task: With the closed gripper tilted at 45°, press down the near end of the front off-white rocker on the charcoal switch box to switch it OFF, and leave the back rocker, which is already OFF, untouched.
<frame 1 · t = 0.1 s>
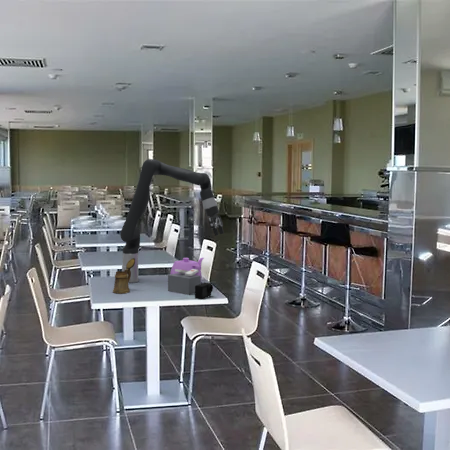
hand: (219, 234, 327), 31 cm above the table, tool tilted 20°, fingers open, 8 cm apart
teapot: (186, 283, 350), on the table
back rocker: (181, 271, 327), point 11 cm above the table, hinge at -12.0°
switch box: (184, 291, 325), on the table
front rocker: (191, 272, 323), point 11 cm above the table, hinge at 12.0°
wooden mug: (124, 291, 322), on the table
digital camera: (204, 297, 311), on the table
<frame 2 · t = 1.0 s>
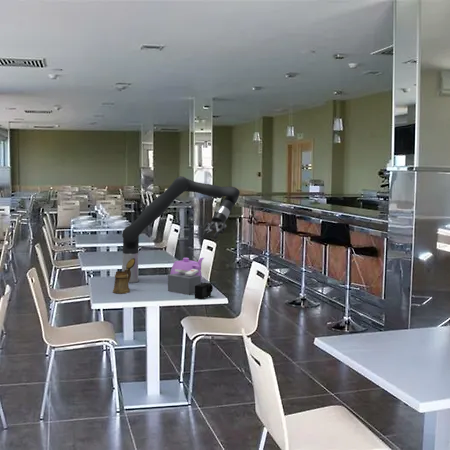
hand: (208, 237, 333), 29 cm above the table, tool tilted 45°, fingers open, 7 cm apart
nothing on the table moved.
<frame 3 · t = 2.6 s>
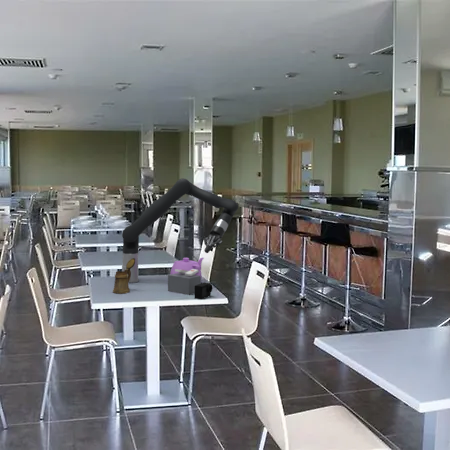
hand: (206, 252, 333), 21 cm above the table, tool tilted 45°, fingers closed
nothing on the table moved.
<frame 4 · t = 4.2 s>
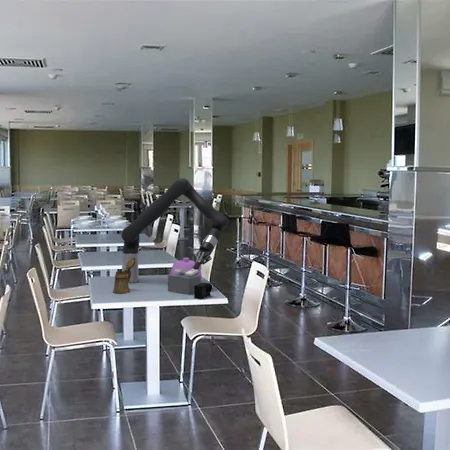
hand: (195, 268, 325), 12 cm above the table, tool tilted 45°, fingers closed
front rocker: (191, 272, 323), point 11 cm above the table, hinge at 11.7°, touching gripper
everything else where it was.
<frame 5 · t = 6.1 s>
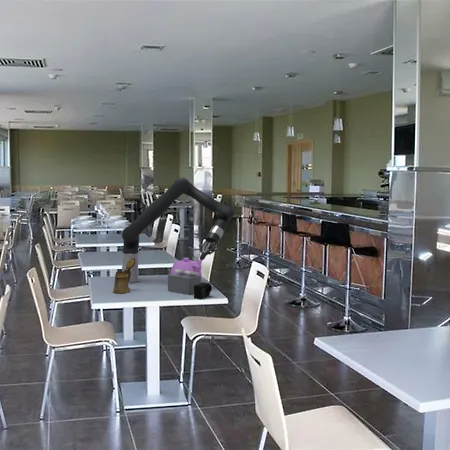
hand: (201, 259, 329), 17 cm above the table, tool tilted 45°, fingers closed
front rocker: (191, 273, 323), point 11 cm above the table, hinge at -12.7°
everything else where it was.
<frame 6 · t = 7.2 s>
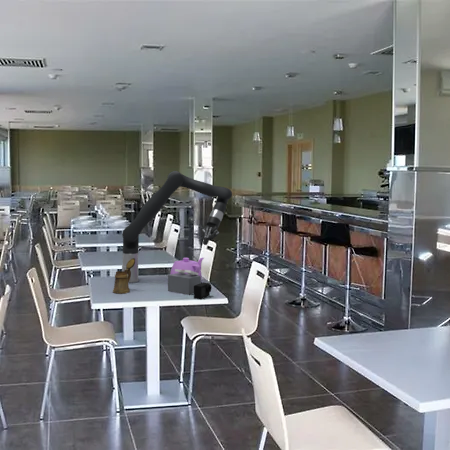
hand: (204, 244, 341), 24 cm above the table, tool tilted 35°, fingers closed
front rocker: (191, 273, 323), point 11 cm above the table, hinge at -19.6°
everything else where it was.
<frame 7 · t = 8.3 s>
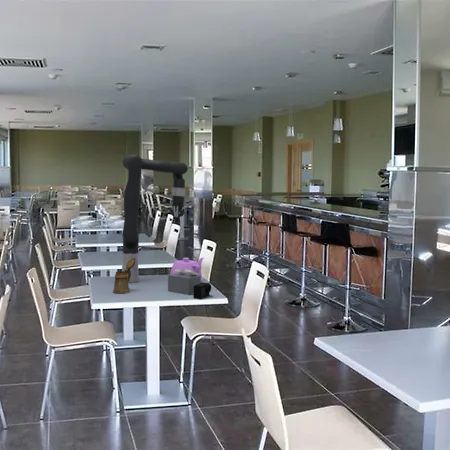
hand: (176, 223, 362), 34 cm above the table, tool pointing down, fingers closed
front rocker: (191, 273, 323), point 11 cm above the table, hinge at -23.0°, touching switch box
everything else where it was.
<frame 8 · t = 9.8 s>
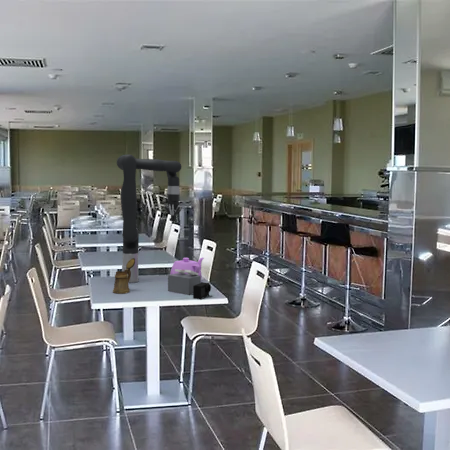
hand: (173, 221, 364), 35 cm above the table, tool pointing down, fingers closed
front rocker: (191, 273, 323), point 11 cm above the table, hinge at -21.3°, touching switch box
at the end: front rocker at -21° (first picture: +12°); back rocker at -12° (first picture: -12°); teapot moved 0.3 cm from its start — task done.
